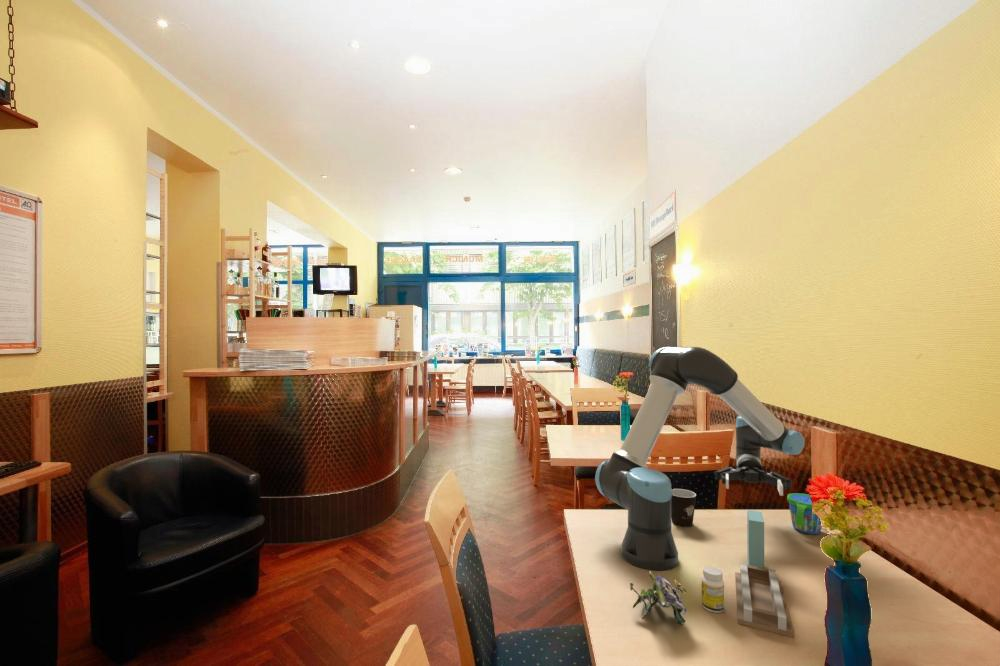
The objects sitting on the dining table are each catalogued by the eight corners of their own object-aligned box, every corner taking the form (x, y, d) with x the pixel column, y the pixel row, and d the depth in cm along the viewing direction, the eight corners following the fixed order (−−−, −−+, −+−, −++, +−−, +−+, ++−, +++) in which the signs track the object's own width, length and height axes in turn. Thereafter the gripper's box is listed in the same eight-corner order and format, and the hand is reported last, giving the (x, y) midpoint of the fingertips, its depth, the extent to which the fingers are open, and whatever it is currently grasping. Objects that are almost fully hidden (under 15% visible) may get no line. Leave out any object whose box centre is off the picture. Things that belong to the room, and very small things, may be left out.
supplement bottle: (703, 599, 107) (703, 563, 107) (726, 605, 104) (726, 568, 104) (699, 608, 103) (699, 571, 103) (722, 616, 100) (722, 577, 100)
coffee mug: (691, 518, 155) (691, 489, 155) (700, 529, 146) (700, 498, 146) (656, 517, 156) (656, 488, 156) (662, 527, 147) (662, 496, 148)
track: (735, 576, 117) (735, 562, 117) (780, 585, 113) (780, 571, 113) (738, 623, 97) (738, 607, 97) (793, 637, 93) (793, 620, 93)
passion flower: (678, 646, 98) (701, 621, 91) (629, 637, 98) (649, 611, 91) (666, 593, 107) (687, 566, 101) (622, 584, 107) (639, 557, 100)
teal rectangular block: (747, 560, 125) (747, 509, 126) (761, 563, 124) (761, 511, 124) (748, 573, 118) (748, 519, 119) (764, 577, 117) (764, 522, 117)
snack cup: (816, 542, 137) (816, 508, 137) (778, 530, 146) (778, 498, 146) (834, 529, 147) (834, 498, 147) (797, 519, 155) (797, 489, 155)
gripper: (794, 485, 144) (805, 507, 125) (708, 474, 155) (706, 494, 136) (794, 461, 144) (805, 480, 125) (708, 452, 155) (706, 468, 136)
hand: (753, 487), depth 130 cm, fingers open, 13 cm apart
